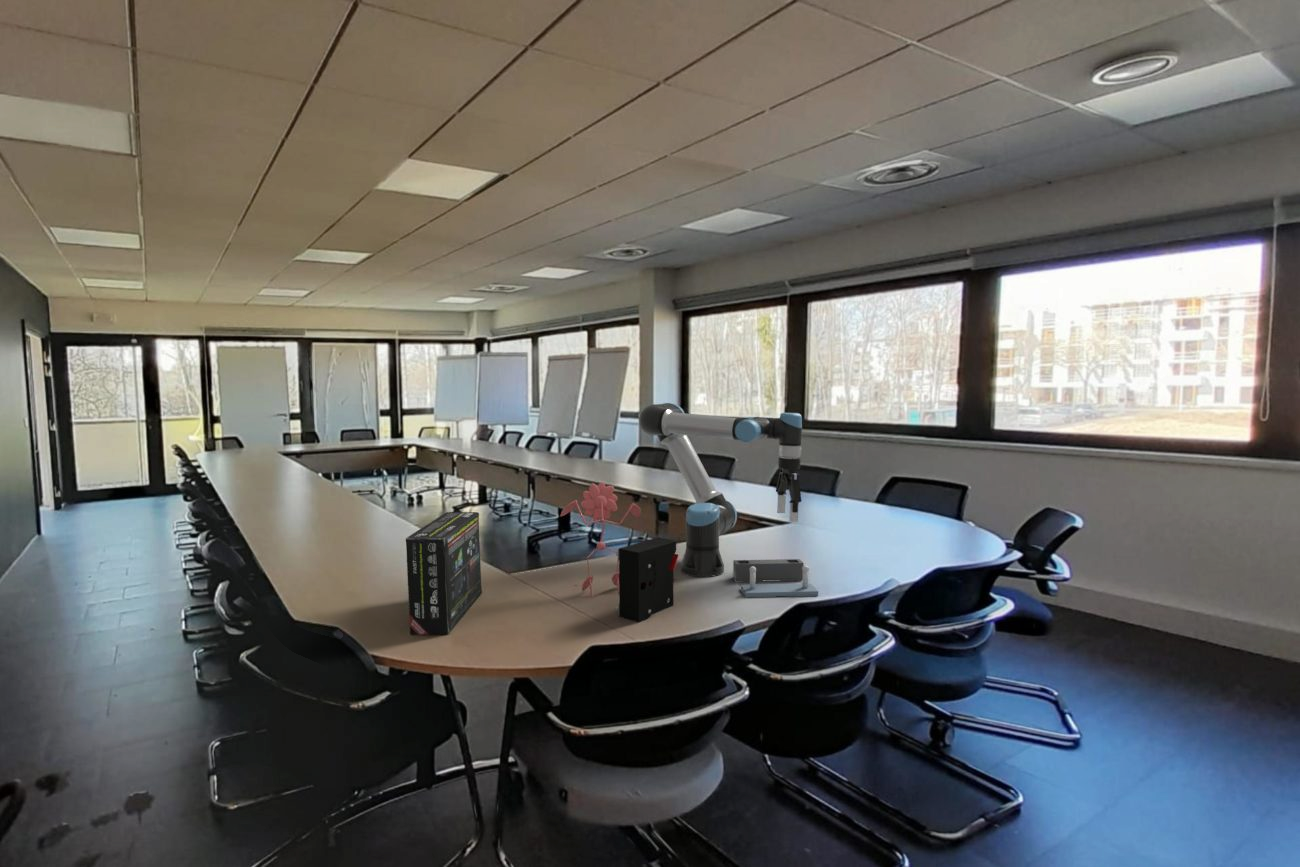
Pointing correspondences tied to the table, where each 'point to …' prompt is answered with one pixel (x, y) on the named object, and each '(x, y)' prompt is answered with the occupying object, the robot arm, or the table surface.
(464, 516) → the router box
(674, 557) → the electrical component
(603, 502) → the pink flower figurine
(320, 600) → the table surface
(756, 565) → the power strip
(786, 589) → the mounting plate
